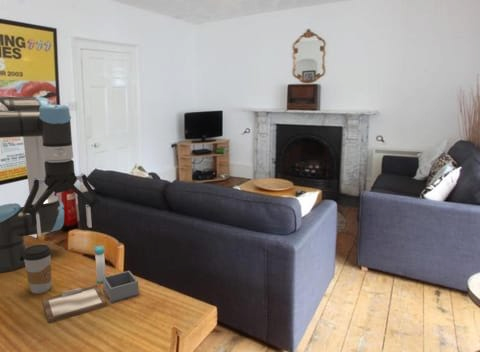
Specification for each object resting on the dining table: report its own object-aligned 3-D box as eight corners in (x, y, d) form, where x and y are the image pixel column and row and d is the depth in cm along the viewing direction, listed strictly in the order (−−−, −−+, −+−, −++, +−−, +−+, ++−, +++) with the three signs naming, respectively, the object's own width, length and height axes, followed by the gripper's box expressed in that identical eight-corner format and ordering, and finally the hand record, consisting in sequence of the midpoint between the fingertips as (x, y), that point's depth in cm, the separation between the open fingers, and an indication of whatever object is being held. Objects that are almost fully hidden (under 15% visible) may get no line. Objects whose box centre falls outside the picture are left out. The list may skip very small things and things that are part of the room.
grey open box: (103, 290, 126) (102, 277, 125) (130, 283, 131) (129, 270, 130) (111, 303, 119) (110, 289, 117) (138, 294, 124) (138, 281, 123)
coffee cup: (42, 297, 121) (38, 255, 118) (21, 294, 123) (16, 252, 120) (59, 284, 129) (55, 245, 126) (39, 281, 131) (35, 242, 128)
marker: (95, 280, 133) (93, 246, 130) (104, 277, 135) (102, 244, 132) (98, 283, 130) (95, 250, 128) (107, 281, 132) (105, 248, 129)
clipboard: (42, 302, 118) (42, 296, 118) (97, 288, 128) (97, 282, 127) (48, 323, 108) (47, 317, 107) (107, 305, 117) (107, 300, 117)
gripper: (7, 166, 94) (17, 243, 98) (107, 158, 107) (111, 226, 112) (6, 161, 100) (15, 234, 104) (101, 154, 113) (105, 219, 118)
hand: (65, 230), depth 108 cm, fingers open, 13 cm apart
